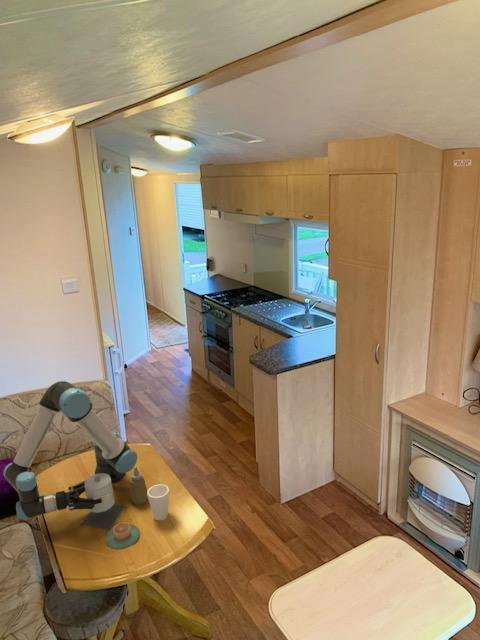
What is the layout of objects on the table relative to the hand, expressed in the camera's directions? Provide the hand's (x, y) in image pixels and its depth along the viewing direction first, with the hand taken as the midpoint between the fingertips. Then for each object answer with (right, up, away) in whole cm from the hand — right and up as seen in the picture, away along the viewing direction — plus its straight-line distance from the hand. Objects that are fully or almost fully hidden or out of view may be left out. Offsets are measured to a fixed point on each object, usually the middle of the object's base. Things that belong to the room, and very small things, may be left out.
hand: (108, 488), depth 217 cm
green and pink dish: (+9, -17, -10) cm, 21 cm away
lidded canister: (-3, -7, +1) cm, 8 cm away
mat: (-3, -13, +3) cm, 14 cm away
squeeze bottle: (+11, -10, +12) cm, 19 cm away
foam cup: (+23, -13, +2) cm, 26 cm away
